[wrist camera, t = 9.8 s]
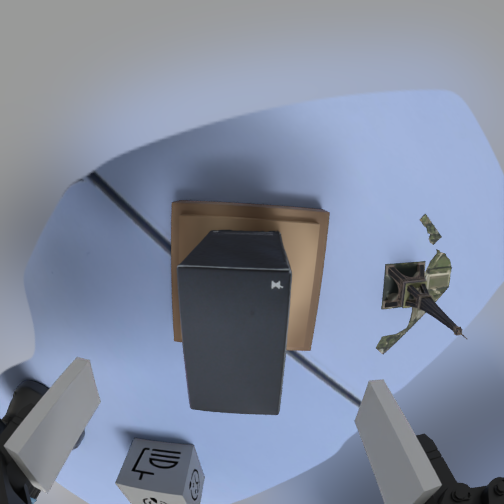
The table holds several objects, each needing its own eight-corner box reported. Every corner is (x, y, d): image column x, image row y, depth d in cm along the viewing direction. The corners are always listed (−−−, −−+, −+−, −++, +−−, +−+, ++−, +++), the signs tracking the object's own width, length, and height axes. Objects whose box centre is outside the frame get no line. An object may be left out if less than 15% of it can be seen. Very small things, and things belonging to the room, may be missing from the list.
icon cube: (134, 437, 37) (115, 483, 28) (193, 444, 37) (182, 495, 27) (151, 470, 40) (137, 511, 30) (204, 476, 39) (197, 521, 30)
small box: (204, 228, 25) (169, 261, 15) (281, 229, 25) (298, 264, 15) (207, 337, 28) (185, 412, 17) (275, 340, 27) (283, 417, 17)
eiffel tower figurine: (380, 354, 33) (423, 425, 20) (330, 307, 32) (368, 382, 19) (461, 268, 30) (531, 308, 17) (421, 210, 29) (502, 232, 16)
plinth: (180, 327, 32) (171, 346, 28) (180, 200, 28) (168, 203, 25) (306, 336, 32) (311, 355, 28) (322, 209, 28) (332, 213, 25)
